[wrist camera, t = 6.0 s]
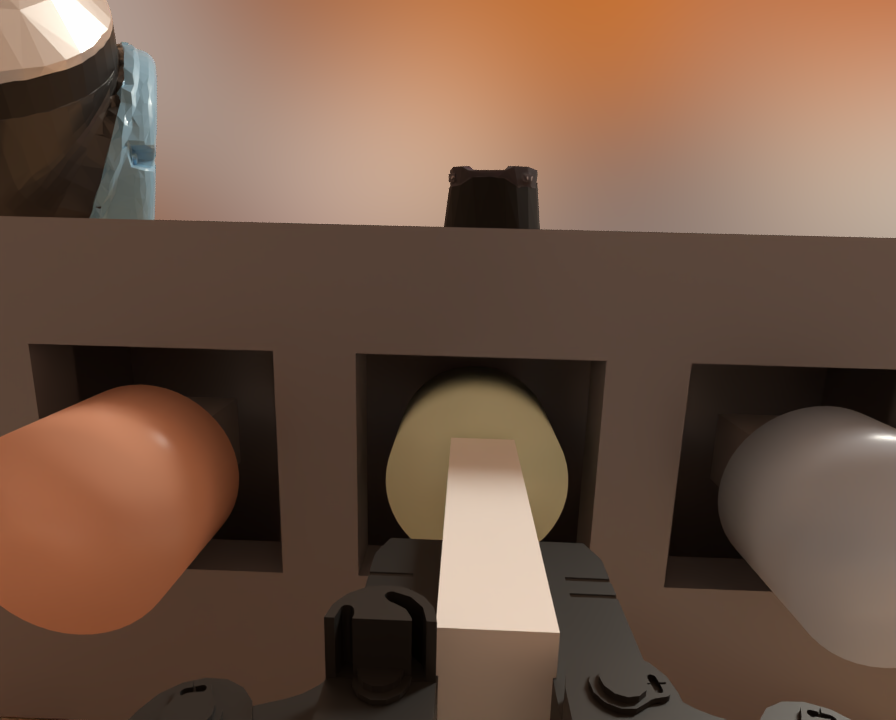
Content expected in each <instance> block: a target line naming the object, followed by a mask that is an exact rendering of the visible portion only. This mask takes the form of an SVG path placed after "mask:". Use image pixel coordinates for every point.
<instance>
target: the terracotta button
mask: <svg viewBox="0 0 896 720" xmlns="http://www.w3.org/2000/svg"><path fill="white" fill-rule="evenodd" d="M240 462H241V458H240V442H239V426H238V410H237V398H212V397H185V396H183V395H181V394H179V393H177V392H174V391H172V390H169V389H166V388H162V387H157V386H152V385H126V386H120V387H116V388H113V389H110V390H107V391H104V392H102V393H100V394H97V395H95V396H93V397H90V398H88V399H86V400H84V401H81V402H79V403H77V404H74V405H72V406H70V407H67V408H65V409H63V410H61V411H58V412H56V413H54V414H51V415H49V416H47V417H45V418H42V419H40V420H38V421H35V422H33V423H31V424H28V425H26V426H24V427H22V428H19V429H17V430H15V431H12V432H10V433H8V434H5V435H3V436H1V437H0V606H2V607H3V608H5V609H6V610H7V611H9V612H10V613H12V614H14V615H15V616H17V617H19V618H21V619H22V620H24V621H27V622H29V623H31V624H33V625H36V626H39V627H42V628H45V629H48V630H51V631H56V632H61V633H67V634H77V635H86V634H99V633H106V632H110V631H113V630H117V629H120V628H123V627H125V626H127V625H130V624H132V623H133V622H135V621H137V620H139V619H140V618H142V617H143V616H144V615H146V614H147V613H148V612H149V611H151V610H152V609H153V608H154V607H155V605H156V604H157V603H158V602H159V601H160V600H161V599H162V598H163V596H164V595H165V594H166V593H167V592H168V590H169V589H170V588H171V587H172V586H173V584H174V583H175V582H176V581H177V580H178V578H179V577H180V576H181V575H182V574H183V572H184V571H185V570H186V569H187V568H188V566H189V565H190V564H191V563H192V562H193V560H194V559H195V558H196V557H197V555H198V554H199V553H200V552H201V551H202V549H203V548H204V547H205V546H206V545H207V543H208V542H209V541H210V540H211V539H212V537H213V536H214V535H215V534H216V533H217V531H218V530H219V529H220V528H221V527H222V525H223V524H224V523H225V521H226V520H227V518H228V517H229V515H230V514H231V512H232V509H233V507H234V505H235V502H236V498H237V495H238V488H239V470H238V464H239V463H240Z"/></svg>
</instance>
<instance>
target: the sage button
mask: <svg viewBox="0 0 896 720" xmlns="http://www.w3.org/2000/svg"><path fill="white" fill-rule="evenodd" d="M451 438H478V439H508V440H515V445H516V449H517V453H518V457H519V462H520V466H521V470H522V474H523V479H524V483H525V487H526V491H527V495H528V500H529V504H530V508H531V512H532V517H533V521H534V525H535V529H536V534H537V538H538V542H540V541H541V540H542V539H543V538H544V537H545V536H546V535H547V534H548V533H549V532H550V530H551V529H552V528H553V526H554V525H555V523H556V522H557V520H558V519H559V516H560V514H561V512H562V510H563V507H564V504H565V501H566V497H567V490H568V470H567V464H566V460H565V457H564V453H563V451H562V449H561V447H560V444H559V442H558V440H557V438H556V435H555V433H554V431H553V429H552V427H551V425H550V422H549V420H548V418H547V416H546V414H545V411H544V409H543V407H542V405H541V403H540V402H539V400H538V398H537V397H536V396H535V394H534V393H533V392H532V391H531V390H530V389H529V388H528V387H527V386H526V385H525V384H524V383H523V382H521V381H520V380H518V379H517V378H516V377H514V376H512V375H510V374H508V373H506V372H503V371H500V370H498V369H494V368H489V367H482V366H466V367H460V368H455V369H452V370H448V371H446V372H444V373H441V374H439V375H437V376H436V377H434V378H432V379H431V380H429V381H428V382H427V383H425V384H424V385H423V386H422V387H421V388H420V389H419V390H418V391H417V392H416V393H415V395H414V396H413V397H412V399H411V400H410V402H409V404H408V406H407V407H406V409H405V412H404V415H403V418H402V420H401V423H400V426H399V429H398V432H397V435H396V438H395V441H394V444H393V447H392V450H391V453H390V456H389V459H388V464H387V469H386V491H387V496H388V501H389V504H390V507H391V510H392V512H393V514H394V516H395V518H396V520H397V522H398V523H399V525H400V526H401V527H402V529H403V530H404V532H405V533H406V534H407V535H408V536H409V537H410V538H411V539H431V540H443V530H444V518H445V506H446V494H447V481H448V469H449V457H450V445H451Z"/></svg>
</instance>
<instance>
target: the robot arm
mask: <svg viewBox="0 0 896 720" xmlns="http://www.w3.org/2000/svg"><path fill="white" fill-rule="evenodd" d="M156 132H157V76H156V66H155V62H154V60H153V58H152V57H151V56H150V55H149V54H148V53H146V52H144V51H142V50H139V49H136V48H135V47H133V46H132V45H128V43H126V42H121V43H120V44H116V39H115V33H114V27H113V21H112V15H111V10H110V8H109V6H108V3H107V1H106V0H0V216H16V217H57V218H97V219H138V220H154V215H155V176H156V171H155V156H156ZM324 639H325V675H326V678H325V681H323V682H322V683H321V684H320V685H318V686H316V687H314V688H312V689H310V690H308V691H306V692H305V693H302V694H299V695H296V696H293V697H289V698H286V699H282V700H277V701H273V702H268V703H264V704H259V705H255V706H253V705H252V700H251V698H250V697H249V695H248V694H247V692H246V690H245V689H244V687H242V686H240V685H238V684H236V683H234V682H232V681H230V680H228V679H218V678H202V679H198V680H193V681H188V682H183V683H181V684H179V685H177V686H174V687H172V688H170V689H168V690H166V691H164V692H161V693H159V694H158V695H157V696H155V697H154V698H153V699H152V700H150V701H149V702H148V703H146V704H145V705H144V706H143V707H141V708H140V709H139V710H138V711H137V712H136V713H135V714H134V715H133V716H132V717H131V718H130V719H129V720H726V719H723V718H720V717H716V716H713V715H710V714H708V713H705V712H703V711H700V710H697V709H695V708H693V707H691V706H689V705H688V704H686V703H684V702H682V700H681V698H680V695H679V693H678V692H677V690H676V689H675V688H674V686H673V685H672V683H671V682H670V680H669V679H668V678H667V676H666V675H664V674H663V673H662V672H660V671H659V670H658V669H657V668H655V667H654V666H653V665H651V664H650V663H649V662H646V661H644V660H643V658H642V655H641V653H640V650H639V648H638V646H637V643H636V641H635V638H634V636H633V634H632V631H631V629H630V627H629V624H628V622H627V619H626V617H625V615H624V612H623V610H622V607H621V605H620V603H619V600H618V599H616V593H615V591H614V588H613V586H612V584H611V583H610V581H609V576H608V574H607V572H606V569H605V567H604V565H603V562H602V560H601V559H600V558H599V557H598V556H597V555H596V554H595V553H593V552H592V551H591V550H590V549H589V548H588V547H587V546H586V545H585V544H584V543H562V542H538V538H537V534H536V529H535V525H534V521H533V517H532V512H531V508H530V504H529V500H528V495H527V491H526V487H525V483H524V479H523V474H522V470H521V466H520V462H519V457H518V453H517V449H516V445H515V440H508V439H478V438H451V445H450V457H449V469H448V481H447V494H446V506H445V518H444V530H443V540H431V539H405V538H390V539H389V540H388V541H387V542H386V543H385V544H384V545H383V546H382V547H381V548H380V549H379V550H378V551H377V552H376V553H375V555H374V558H373V562H372V565H371V568H370V573H369V575H368V579H367V582H366V585H365V588H362V589H359V590H356V591H353V592H350V593H348V594H346V595H345V596H343V597H342V598H340V599H339V600H337V601H336V602H335V603H333V604H332V606H331V607H330V609H329V610H328V612H327V613H326V615H325V616H324ZM760 720H851V719H849V718H847V717H845V716H843V715H841V714H839V713H837V712H835V711H833V710H831V709H828V708H824V707H821V706H817V705H813V704H810V703H806V702H779V703H777V704H775V705H773V706H770V707H768V708H766V709H765V711H764V713H763V715H762V717H761V719H760Z"/></svg>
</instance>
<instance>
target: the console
mask: <svg viewBox="0 0 896 720" xmlns="http://www.w3.org/2000/svg"><path fill="white" fill-rule="evenodd" d="M466 366H482V367H489V368H494V369H498V370H500V371H503V372H506V373H508V374H510V375H512V376H514V377H516V378H517V379H518V380H520V381H521V382H523V383H524V384H525V385H526V386H527V387H528V388H529V389H530V390H531V391H532V392H533V393H534V394H535V396H536V397H537V398H538V400H539V402H540V403H541V405H542V407H543V409H544V411H545V414H546V416H547V418H548V420H549V422H550V425H551V427H552V429H553V431H554V433H555V435H556V438H557V440H558V442H559V444H560V447H561V449H562V451H563V453H564V457H565V460H566V464H567V470H568V490H567V497H566V501H565V504H564V507H563V510H562V512H561V514H560V516H559V519H558V520H557V522H556V523H555V525H554V526H553V528H552V529H551V530H550V532H549V533H548V534H547V535H546V536H545V537H544V538H543V539H542V540H541V541H540V542H562V543H584V544H585V545H586V546H587V547H588V548H589V549H590V550H591V551H592V552H593V553H595V554H596V555H597V556H598V557H599V558H600V559H601V560H602V562H603V565H604V567H605V569H606V572H607V574H608V576H609V581H610V583H611V584H612V586H613V588H614V591H615V593H616V599H618V600H619V603H620V605H621V607H622V610H623V612H624V615H625V617H626V619H627V622H628V624H629V627H630V629H631V631H632V634H633V636H634V638H635V641H636V643H637V646H638V648H639V650H640V653H641V655H642V658H643V660H644V661H646V662H649V663H650V664H651V665H653V666H654V667H655V668H657V669H658V670H659V671H660V672H662V673H663V674H664V675H666V676H667V678H668V679H669V680H670V682H671V683H672V685H673V686H674V688H675V689H676V690H677V692H678V693H679V695H680V698H681V700H682V702H684V703H686V704H688V705H689V706H691V707H693V708H695V709H697V710H700V711H703V712H705V713H708V714H710V715H713V716H716V717H720V718H723V719H726V720H760V719H761V717H762V715H763V713H764V711H765V709H766V708H768V707H770V706H773V705H775V704H777V703H779V702H806V703H810V704H813V705H817V706H821V707H824V708H828V709H831V710H833V711H835V712H837V713H839V714H841V715H843V716H845V717H847V718H849V719H851V720H896V668H880V667H871V666H866V665H861V664H857V663H854V662H851V661H848V660H846V659H843V658H841V657H839V656H837V655H835V654H833V653H831V652H830V651H828V650H827V649H825V648H824V647H823V646H821V645H820V644H819V643H818V642H817V641H816V640H814V639H813V638H812V637H811V636H810V635H809V633H808V632H807V631H806V630H805V629H804V628H803V626H802V625H801V624H800V623H799V622H798V621H797V620H796V618H795V617H794V616H793V615H792V614H791V613H790V611H789V610H788V609H787V608H786V607H785V606H784V604H783V603H782V602H781V601H780V600H779V599H778V598H777V596H776V595H775V594H774V593H773V592H772V591H771V589H770V588H769V587H768V586H767V585H766V584H765V582H764V581H763V580H762V579H761V578H760V577H759V576H758V574H757V573H756V572H755V571H754V570H753V569H752V567H751V566H750V565H749V564H748V563H747V562H746V561H745V559H744V558H743V557H742V556H741V555H740V554H739V552H738V551H737V550H736V549H735V548H734V546H733V545H732V544H731V543H730V541H729V539H728V538H727V536H726V534H725V532H724V530H723V527H722V525H721V521H720V517H719V512H718V492H719V487H718V486H717V485H716V484H715V483H714V482H713V481H712V480H711V479H710V473H711V466H712V459H713V452H714V444H715V437H716V430H717V423H718V415H719V414H748V415H779V416H780V415H783V414H785V413H788V412H791V411H794V410H798V409H802V408H808V407H814V406H832V407H841V408H846V409H850V410H854V411H856V412H859V413H862V414H864V415H866V416H869V417H871V418H873V419H875V420H878V421H880V422H882V423H884V424H886V425H889V426H891V427H893V428H895V429H896V238H866V237H865V238H864V237H825V236H823V237H822V236H783V235H744V234H704V233H702V234H701V233H663V232H661V233H660V232H622V231H583V230H542V229H541V230H540V229H502V228H461V227H420V226H416V227H415V226H379V225H339V224H299V223H298V224H297V223H257V222H218V221H216V222H215V221H177V220H138V219H97V218H57V217H16V216H0V437H1V436H3V435H5V434H8V433H10V432H12V431H15V430H17V429H19V428H22V427H24V426H26V425H28V424H31V423H33V422H35V421H38V420H40V419H42V418H45V417H47V416H49V415H51V414H54V413H56V412H58V411H61V410H63V409H65V408H67V407H70V406H72V405H74V404H77V403H79V402H81V401H84V400H86V399H88V398H90V397H93V396H95V395H97V394H100V393H102V392H104V391H107V390H110V389H113V388H116V387H120V386H126V385H152V386H157V387H162V388H166V389H169V390H172V391H174V392H177V393H179V394H181V395H183V396H185V397H212V398H237V410H238V426H239V442H240V458H241V462H240V463H239V464H238V470H239V488H238V495H237V498H236V502H235V505H234V507H233V509H232V512H231V514H230V515H229V517H228V518H227V520H226V521H225V523H224V524H223V525H222V527H221V528H220V529H219V530H218V531H217V533H216V534H215V535H214V536H213V537H212V539H211V540H210V541H209V542H208V543H207V545H206V546H205V547H204V548H203V549H202V551H201V552H200V553H199V554H198V555H197V557H196V558H195V559H194V560H193V562H192V563H191V564H190V565H189V566H188V568H187V569H186V570H185V571H184V572H183V574H182V575H181V576H180V577H179V578H178V580H177V581H176V582H175V583H174V584H173V586H172V587H171V588H170V589H169V590H168V592H167V593H166V594H165V595H164V596H163V598H162V599H161V600H160V601H159V602H158V603H157V604H156V605H155V607H154V608H153V609H152V610H151V611H149V612H148V613H147V614H146V615H144V616H143V617H142V618H140V619H139V620H137V621H135V622H133V623H132V624H130V625H127V626H125V627H123V628H120V629H117V630H113V631H110V632H106V633H99V634H86V635H77V634H67V633H61V632H56V631H51V630H48V629H45V628H42V627H39V626H36V625H33V624H31V623H29V622H27V621H24V620H22V619H21V618H19V617H17V616H15V615H14V614H12V613H10V612H9V611H7V610H6V609H5V608H3V607H2V606H0V717H22V718H45V719H67V720H129V719H130V718H131V717H132V716H133V715H134V714H135V713H136V712H137V711H138V710H139V709H140V708H141V707H143V706H144V705H145V704H146V703H148V702H149V701H150V700H152V699H153V698H154V697H155V696H157V695H158V694H159V693H161V692H164V691H166V690H168V689H170V688H172V687H174V686H177V685H179V684H181V683H183V682H188V681H193V680H198V679H202V678H218V679H228V680H230V681H232V682H234V683H236V684H238V685H240V686H242V687H244V689H245V690H246V692H247V694H248V695H249V697H250V698H251V700H252V705H253V706H255V705H259V704H264V703H268V702H273V701H277V700H282V699H286V698H289V697H293V696H296V695H299V694H302V693H305V692H306V691H308V690H310V689H312V688H314V687H316V686H318V685H320V684H321V683H322V682H323V681H325V678H326V675H325V639H324V616H325V615H326V613H327V612H328V610H329V609H330V607H331V606H332V604H333V603H335V602H336V601H337V600H339V599H340V598H342V597H343V596H345V595H346V594H348V593H350V592H353V591H356V590H359V589H362V588H365V585H366V582H367V579H368V575H369V573H370V568H371V565H372V562H373V558H374V555H375V553H376V552H377V551H378V550H379V549H380V548H381V547H382V546H383V545H384V544H385V543H386V542H387V541H388V540H389V539H390V538H405V539H411V538H410V537H409V536H408V535H407V534H406V533H405V532H404V530H403V529H402V527H401V526H400V525H399V523H398V522H397V520H396V518H395V516H394V514H393V512H392V510H391V507H390V504H389V501H388V496H387V491H386V469H387V464H388V459H389V456H390V453H391V450H392V447H393V444H394V441H395V438H396V435H397V432H398V429H399V426H400V423H401V420H402V418H403V415H404V412H405V409H406V407H407V406H408V404H409V402H410V400H411V399H412V397H413V396H414V395H415V393H416V392H417V391H418V390H419V389H420V388H421V387H422V386H423V385H424V384H425V383H427V382H428V381H429V380H431V379H432V378H434V377H436V376H437V375H439V374H441V373H444V372H446V371H448V370H452V369H455V368H460V367H466Z"/></svg>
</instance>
